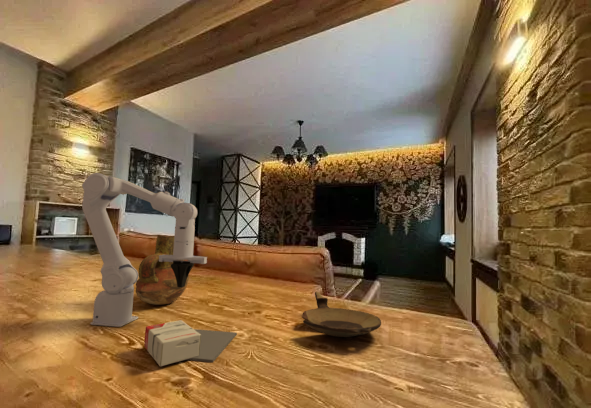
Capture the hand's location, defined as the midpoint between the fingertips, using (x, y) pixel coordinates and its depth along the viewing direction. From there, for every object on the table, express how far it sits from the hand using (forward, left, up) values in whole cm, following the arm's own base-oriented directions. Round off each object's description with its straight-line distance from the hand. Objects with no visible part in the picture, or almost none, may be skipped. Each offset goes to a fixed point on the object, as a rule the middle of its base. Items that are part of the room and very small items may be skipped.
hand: (181, 286), depth 86 cm
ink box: (+5, -16, -8) cm, 18 cm away
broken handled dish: (+48, +4, -11) cm, 49 cm away
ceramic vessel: (-16, +18, -11) cm, 26 cm away
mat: (+13, -14, -10) cm, 22 cm away
